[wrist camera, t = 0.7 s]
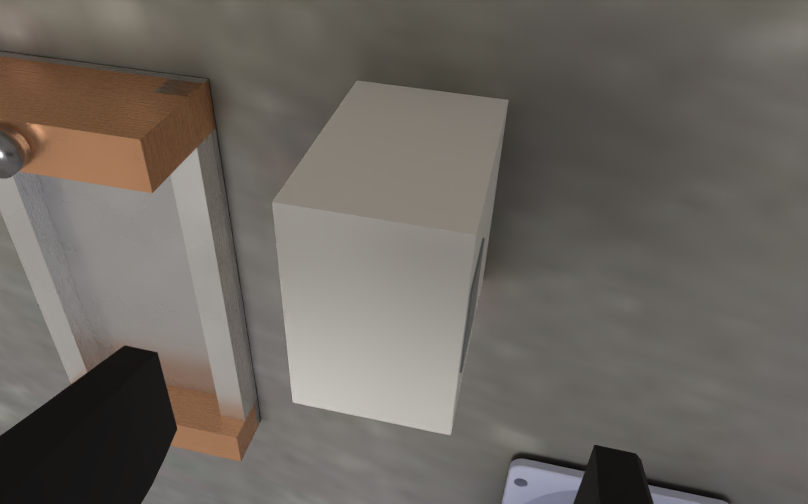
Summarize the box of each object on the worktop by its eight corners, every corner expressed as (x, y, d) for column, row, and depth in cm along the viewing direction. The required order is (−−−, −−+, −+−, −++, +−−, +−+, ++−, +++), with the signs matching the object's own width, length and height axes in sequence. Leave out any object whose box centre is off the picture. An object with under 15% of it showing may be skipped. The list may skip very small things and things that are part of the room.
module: (484, 279, 21) (452, 435, 16) (357, 257, 21) (290, 402, 17) (511, 99, 17) (479, 235, 12) (355, 79, 18) (269, 201, 13)
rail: (260, 421, 28) (216, 511, 25) (97, 386, 29) (34, 468, 26) (208, 79, 19) (126, 151, 15) (-30, 47, 20) (-153, 108, 16)
